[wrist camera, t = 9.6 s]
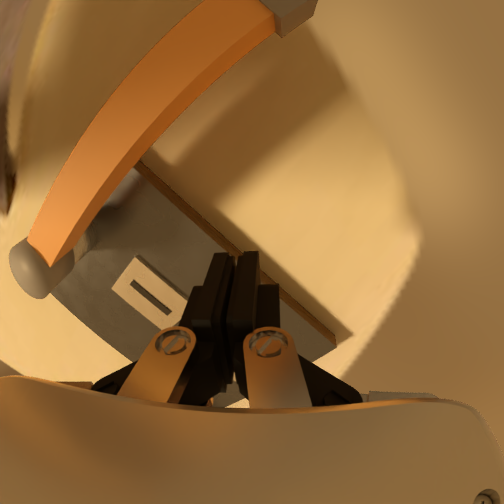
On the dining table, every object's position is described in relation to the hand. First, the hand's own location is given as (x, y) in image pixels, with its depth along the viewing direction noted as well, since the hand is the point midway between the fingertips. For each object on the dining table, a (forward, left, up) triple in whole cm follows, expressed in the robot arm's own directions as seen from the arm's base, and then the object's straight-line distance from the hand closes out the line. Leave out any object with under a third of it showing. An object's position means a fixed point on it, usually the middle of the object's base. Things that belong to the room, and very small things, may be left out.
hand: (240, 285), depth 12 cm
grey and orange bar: (-8, -1, -5) cm, 10 cm away
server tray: (+1, -12, -10) cm, 16 cm away
